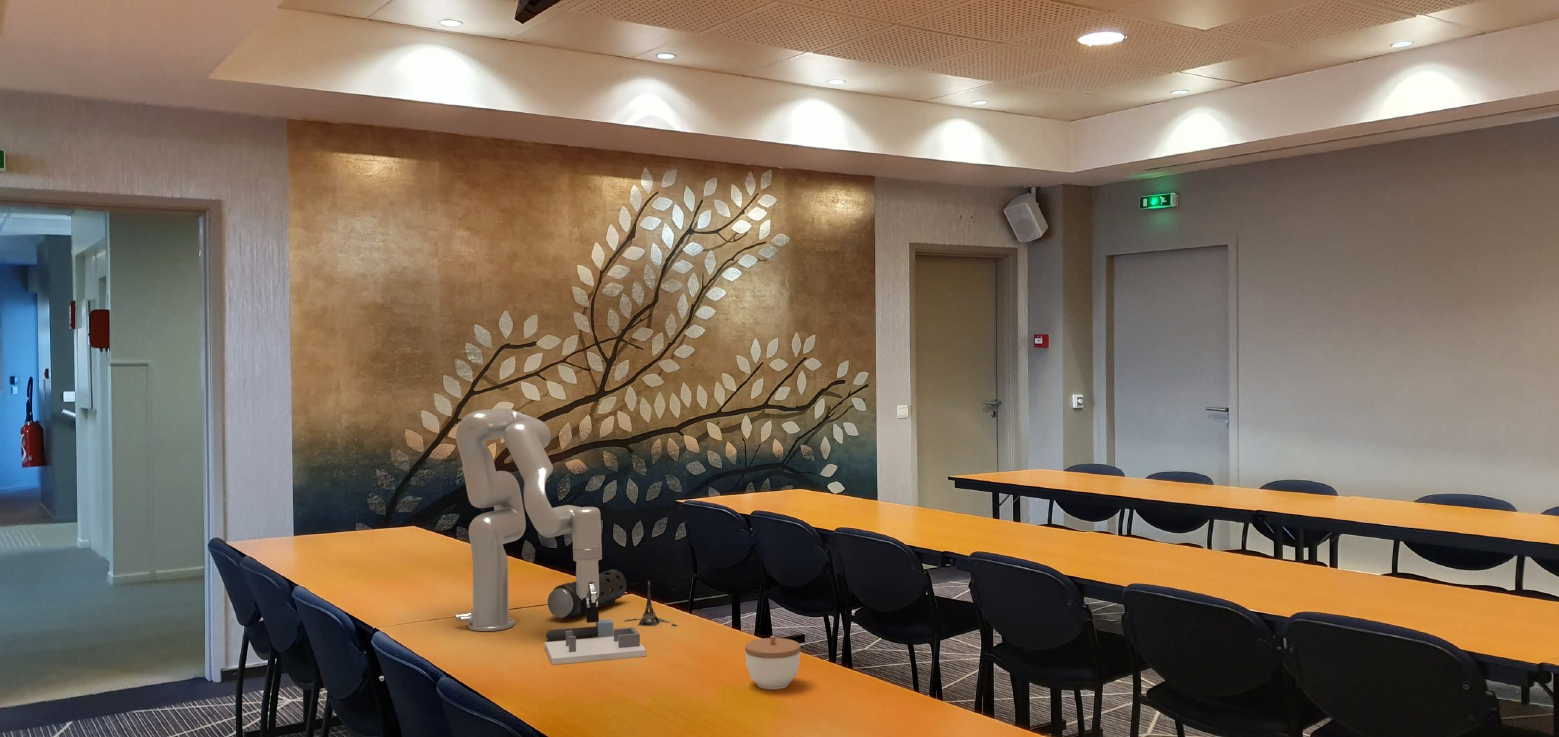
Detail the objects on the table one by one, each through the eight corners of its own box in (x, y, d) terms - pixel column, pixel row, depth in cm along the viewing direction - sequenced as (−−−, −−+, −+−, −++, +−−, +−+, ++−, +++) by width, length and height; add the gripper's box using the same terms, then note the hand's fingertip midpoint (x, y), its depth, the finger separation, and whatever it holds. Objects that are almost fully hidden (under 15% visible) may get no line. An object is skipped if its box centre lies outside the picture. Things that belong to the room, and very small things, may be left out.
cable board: (552, 664, 267) (552, 643, 267) (544, 647, 282) (544, 628, 282) (646, 655, 275) (645, 635, 274) (633, 640, 290) (633, 620, 290)
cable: (546, 642, 287) (546, 627, 287) (545, 639, 291) (545, 624, 291) (613, 636, 293) (613, 622, 293) (610, 633, 297) (610, 618, 297)
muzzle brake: (627, 603, 332) (627, 569, 332) (573, 624, 307) (572, 587, 307) (601, 600, 336) (601, 567, 336) (545, 621, 311) (544, 584, 311)
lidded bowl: (781, 696, 242) (781, 646, 242) (734, 687, 248) (734, 638, 248) (810, 681, 252) (810, 633, 252) (764, 673, 259) (764, 626, 259)
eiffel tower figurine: (680, 628, 305) (680, 579, 304) (648, 633, 299) (647, 584, 298) (653, 617, 317) (653, 571, 317) (622, 622, 311) (621, 575, 311)
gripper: (568, 550, 299) (571, 613, 299) (578, 560, 283) (580, 626, 283) (596, 547, 302) (598, 610, 302) (607, 557, 285) (609, 623, 285)
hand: (589, 618), depth 292 cm, fingers open, 9 cm apart
